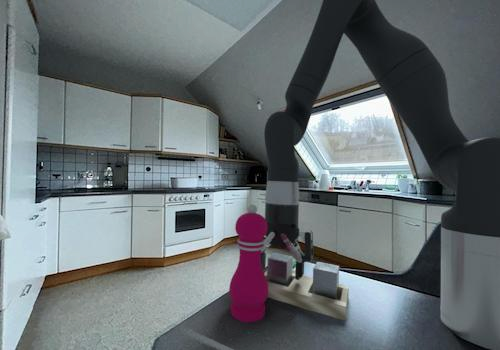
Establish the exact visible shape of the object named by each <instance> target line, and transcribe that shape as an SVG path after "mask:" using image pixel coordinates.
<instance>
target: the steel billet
mask: <svg viewBox="0 0 500 350" xmlns="http://www.w3.org/2000/svg"><path fill="white" fill-rule="evenodd" d="M293 259H294V257H293V256H291V255H286V254H281V253H277V252H276V253H273V254H271V255H270V256H269V257H267V266H266V267H267V268H266V269H267V270H266V271H267V281H268V282H271V283H275V284H279V285H282V286H286V287H288V286H289V285H290V284H291V282H292V267H293Z"/></svg>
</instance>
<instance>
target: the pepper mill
mask: <svg viewBox="0 0 500 350" xmlns="http://www.w3.org/2000/svg"><path fill="white" fill-rule="evenodd" d="M257 211H258V208H257V206H256V205H255V204H249V205H248V207H247V213H243V214H241V215H240V216H238V218H237V219H236V222H235V225H234V227H235V232H236V234H237V236H238V237H239V238H238V239H237V245H236V246H237V248H238V249H239V259H238V264H237V267H236V269H235V271H234V274H233V275H232V277H231V280H230V284H229V289H228V294H229V297H230V299H231V300H232V301H231V304H230V315H231V316H232V317H233V318H234V319H236V320H238V321H240V322H243V323H253V322H257V321H260V320H261V319H263V318H264V317H265V314H266V304H265V302H266V300H267V299H268V298H269V297H268V283H267V279H266V277H265V274H264V273H265V272H264V270H263V269H262V265H261V251H262V249H263V248H264V240H265V239H264V237H266V236H265V235H266V233H267V229H268V226H267V222H266V220H265V216H263V215H261V214H259V213H257Z"/></svg>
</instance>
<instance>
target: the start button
mask: <svg viewBox="0 0 500 350" xmlns="http://www.w3.org/2000/svg"><path fill="white" fill-rule="evenodd" d="M296 262H297V260H296V258H293V267H292V269H294V268H295V267H296Z"/></svg>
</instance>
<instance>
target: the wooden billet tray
mask: <svg viewBox="0 0 500 350" xmlns="http://www.w3.org/2000/svg"><path fill="white" fill-rule="evenodd" d="M264 274H265V277H266V279H267V270H265V272H264ZM267 283H268V297H267V298H270V299H272V300H275V301H278V302H282V303H286V304H290V305H292V306H296V307H299V308H301V309H305V310H308V311H311V312H314V313H319V314H322V315H324V316H328V317H330V318H331V317H332V318H334V319H338V320H342V321H345V322H346V321H347V320H346V319H347V315H348V314H347V313H348V312H347V311H348V304H349V288H350V287H349V285H344V284H341V283H339V289H338V300H335V299H331V298H327V297H323V296H320V295H316V294H313V277H311V276H306V275H303V276H302V278H300V279H299V280H296V279H295V274H294V273H292V282H291V284H290V285H289V286H288V287H286V286H282V285H279V284H275V283H271V282H268V281H267Z"/></svg>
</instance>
